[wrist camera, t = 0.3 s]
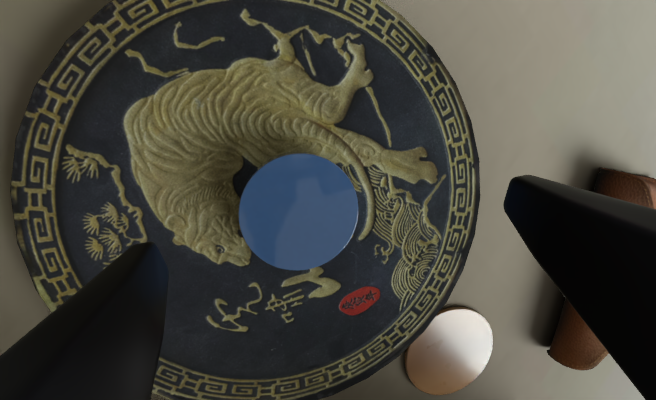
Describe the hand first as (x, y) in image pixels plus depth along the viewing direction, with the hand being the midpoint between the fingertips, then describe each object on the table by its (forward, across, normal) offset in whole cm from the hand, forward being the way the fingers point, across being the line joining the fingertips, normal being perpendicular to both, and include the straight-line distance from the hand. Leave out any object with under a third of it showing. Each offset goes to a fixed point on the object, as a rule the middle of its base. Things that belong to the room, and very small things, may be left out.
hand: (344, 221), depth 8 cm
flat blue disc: (+11, +1, +7) cm, 13 cm away
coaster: (+8, -10, +23) cm, 26 cm away
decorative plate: (+12, +2, +8) cm, 15 cm away
